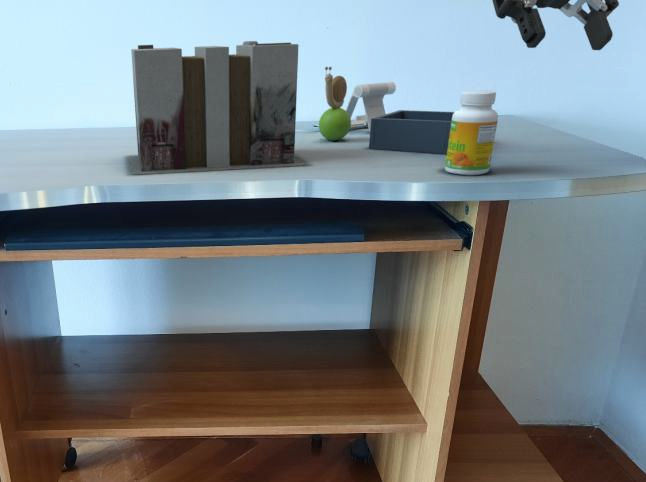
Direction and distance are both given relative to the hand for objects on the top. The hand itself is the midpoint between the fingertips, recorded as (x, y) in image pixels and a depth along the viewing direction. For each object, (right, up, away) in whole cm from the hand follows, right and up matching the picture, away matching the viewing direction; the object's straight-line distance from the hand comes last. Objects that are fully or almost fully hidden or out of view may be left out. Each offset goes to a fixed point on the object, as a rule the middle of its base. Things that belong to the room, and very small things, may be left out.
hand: (570, 43), depth 72 cm
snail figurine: (-18, +1, +39) cm, 43 cm away
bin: (-5, -2, +31) cm, 32 cm away
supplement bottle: (-7, -11, +12) cm, 18 cm away
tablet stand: (-10, +6, +49) cm, 50 cm away
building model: (-39, -6, +25) cm, 47 cm away
